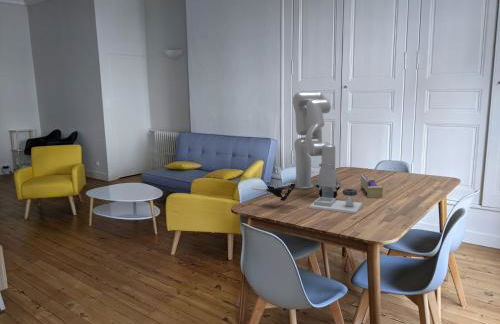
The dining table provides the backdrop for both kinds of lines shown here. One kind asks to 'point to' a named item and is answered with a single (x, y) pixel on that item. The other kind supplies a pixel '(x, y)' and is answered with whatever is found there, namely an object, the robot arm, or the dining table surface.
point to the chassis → (336, 205)
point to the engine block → (328, 192)
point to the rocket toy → (277, 191)
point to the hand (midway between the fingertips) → (327, 197)
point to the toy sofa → (371, 187)
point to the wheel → (349, 192)
